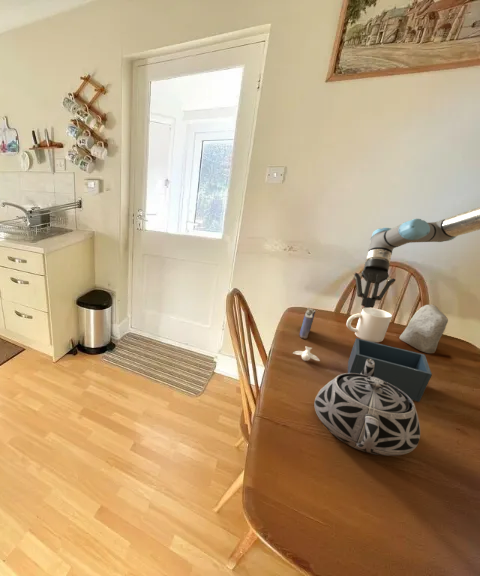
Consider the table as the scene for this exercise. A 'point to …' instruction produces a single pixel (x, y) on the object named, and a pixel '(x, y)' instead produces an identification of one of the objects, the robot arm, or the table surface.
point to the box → (392, 366)
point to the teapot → (369, 413)
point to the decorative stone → (425, 329)
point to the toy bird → (306, 354)
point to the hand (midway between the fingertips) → (365, 313)
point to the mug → (370, 324)
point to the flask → (307, 323)
